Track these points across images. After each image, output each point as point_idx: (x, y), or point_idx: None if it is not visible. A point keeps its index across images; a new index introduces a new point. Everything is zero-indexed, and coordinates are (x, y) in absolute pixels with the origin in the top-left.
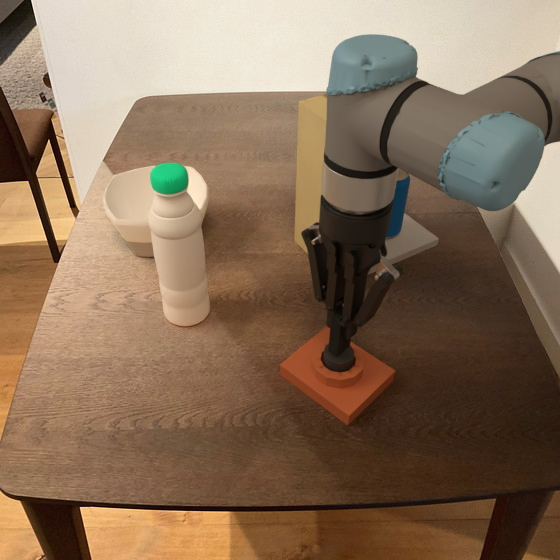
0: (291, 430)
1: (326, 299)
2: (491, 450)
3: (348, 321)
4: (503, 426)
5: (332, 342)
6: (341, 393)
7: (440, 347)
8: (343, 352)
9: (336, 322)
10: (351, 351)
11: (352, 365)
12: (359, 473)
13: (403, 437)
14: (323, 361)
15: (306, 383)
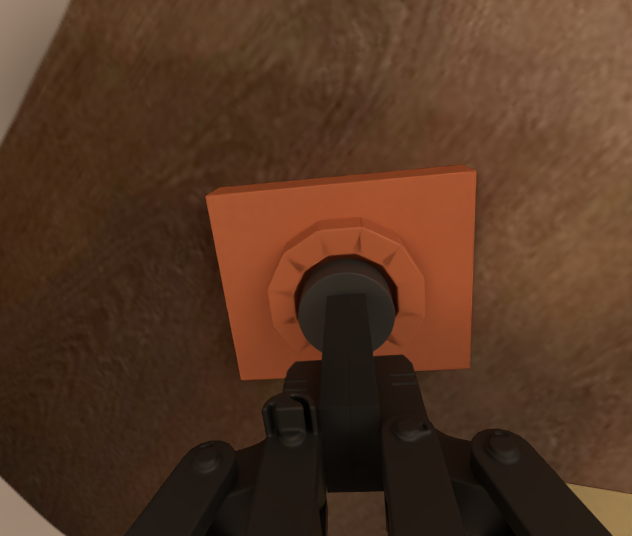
0: (299, 56)
1: (445, 475)
2: (9, 364)
3: (275, 433)
4: (41, 419)
5: (351, 319)
6: (273, 233)
7: None
8: None
9: (343, 391)
10: (321, 344)
11: None
12: (98, 109)
13: (122, 262)
14: (371, 266)
15: (364, 182)
